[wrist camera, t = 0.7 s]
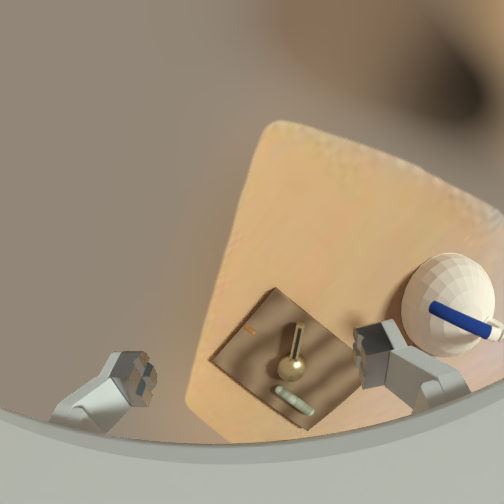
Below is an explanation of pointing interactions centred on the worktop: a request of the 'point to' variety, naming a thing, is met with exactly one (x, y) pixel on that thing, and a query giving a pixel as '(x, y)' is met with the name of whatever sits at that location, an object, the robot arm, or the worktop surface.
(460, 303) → the kettle
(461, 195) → the worktop surface
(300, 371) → the brass knob
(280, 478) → the robot arm
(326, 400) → the levelling base
